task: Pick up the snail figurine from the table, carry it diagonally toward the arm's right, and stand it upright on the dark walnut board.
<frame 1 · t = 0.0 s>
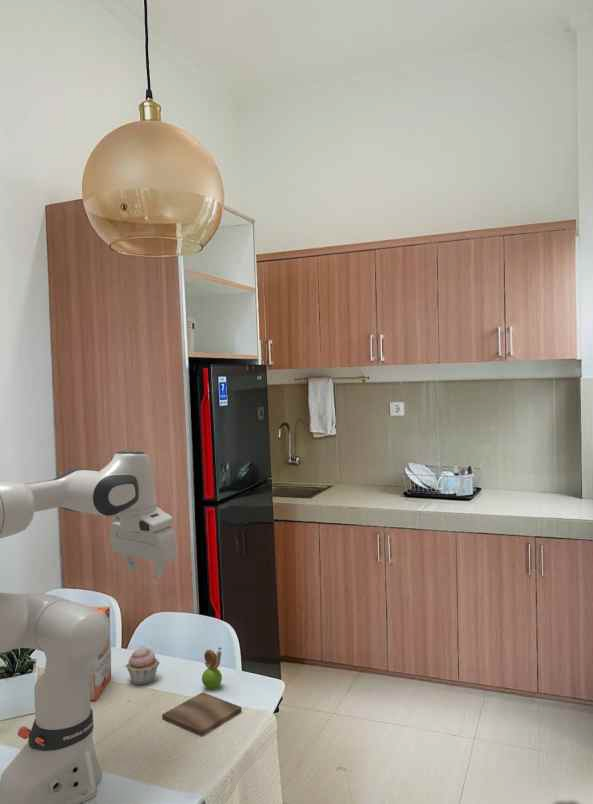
hand: (145, 573, 157), 39 cm above the table, tool pointing down, fingers open, 8 cm apart
cracker box: (95, 689, 182), on the table
cupcake: (143, 681, 186), on the table
walnut board: (202, 715, 166), on the table
snail figurine: (213, 688, 180), on the table
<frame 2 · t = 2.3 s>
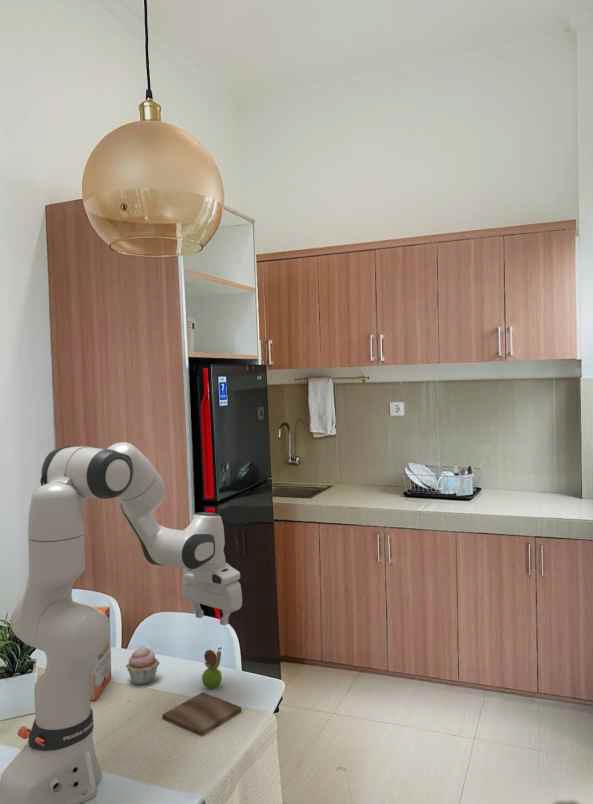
hand: (211, 620, 180), 19 cm above the table, tool pointing down, fingers open, 8 cm apart
nothing on the table moved.
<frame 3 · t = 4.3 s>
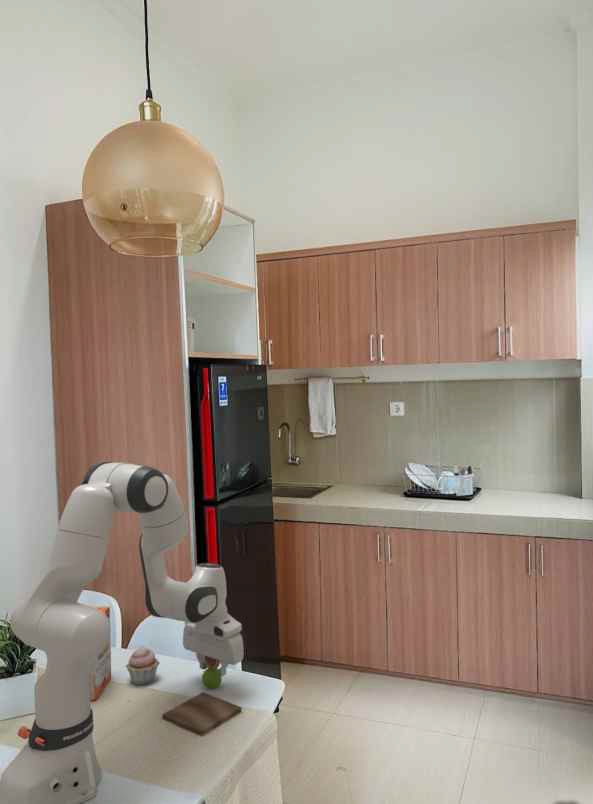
hand: (212, 671, 180), 5 cm above the table, tool pointing down, fingers closed on snail figurine, 6 cm apart
snail figurine: (213, 688, 180), on the table, touching gripper
everything else where it was.
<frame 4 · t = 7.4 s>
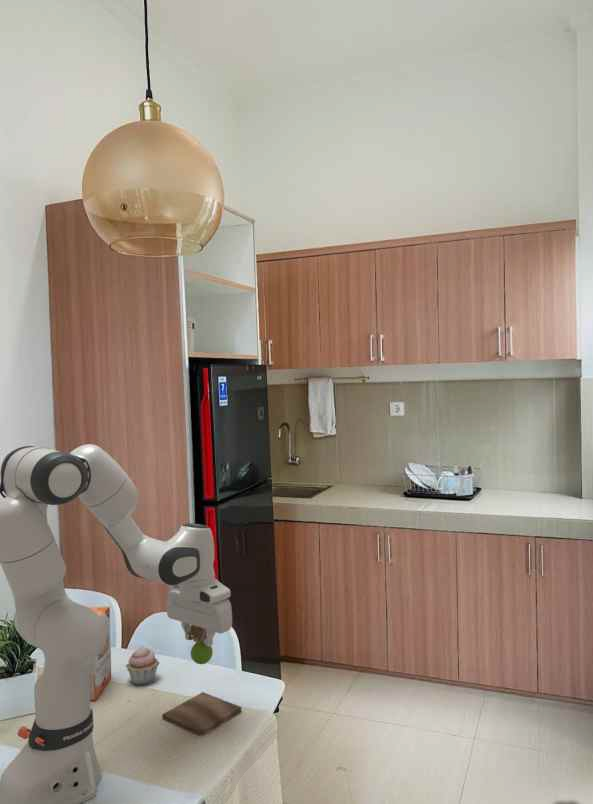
hand: (198, 642, 165), 19 cm above the table, tool pointing down, fingers closed on snail figurine, 5 cm apart
snail figurine: (205, 664, 164), point 13 cm above the table, touching gripper
everything else where it was.
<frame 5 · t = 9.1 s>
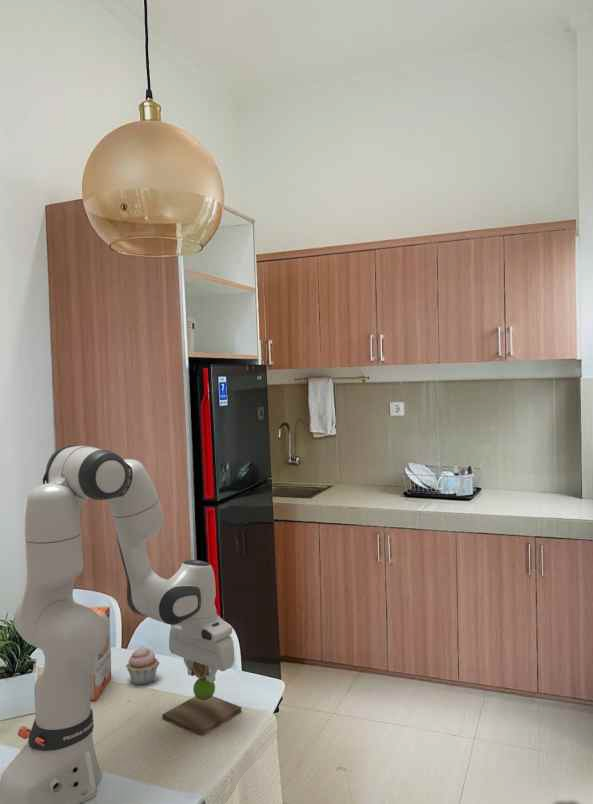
hand: (201, 678, 166), 10 cm above the table, tool pointing down, fingers closed on snail figurine, 5 cm apart
snail figurine: (207, 700, 165), point 4 cm above the table, touching gripper
everything else where it was.
when the fingers open (7 cm above the table, at t = 10.5 s): snail figurine stays where it is, resting on walnut board.
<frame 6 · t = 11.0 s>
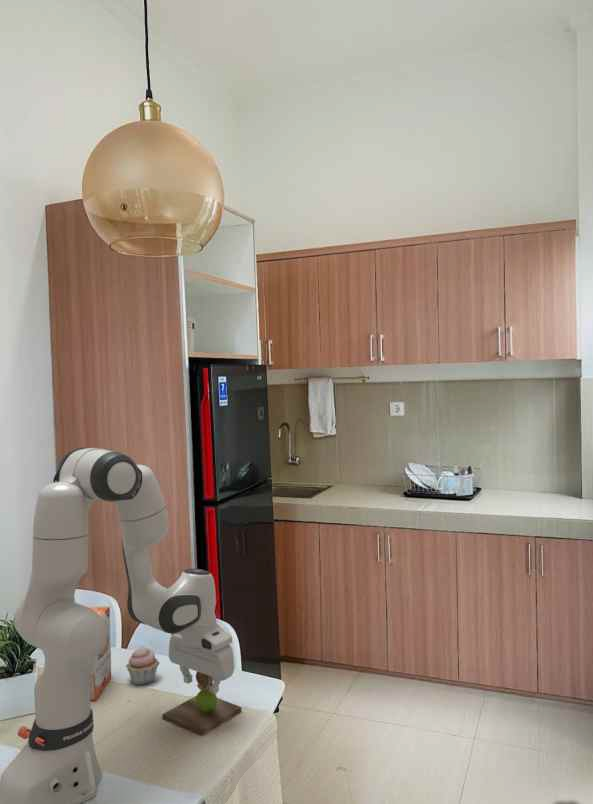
hand: (201, 687, 166), 7 cm above the table, tool pointing down, fingers open, 8 cm apart
snail figurine: (209, 712, 164), point 1 cm above the table, touching gripper, walnut board
everything else where it was.
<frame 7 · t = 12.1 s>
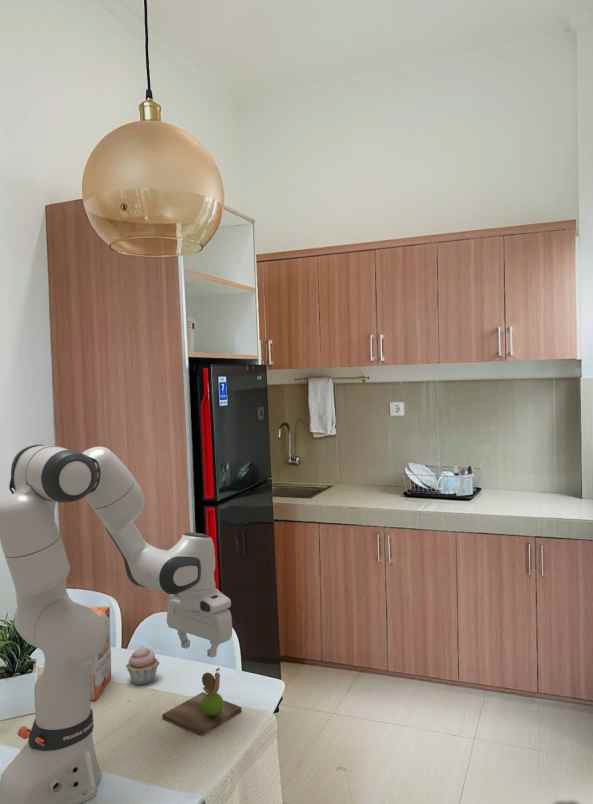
hand: (198, 651, 165), 16 cm above the table, tool pointing down, fingers open, 8 cm apart
snail figurine: (215, 716, 163), point 1 cm above the table, touching walnut board
everything else where it was.
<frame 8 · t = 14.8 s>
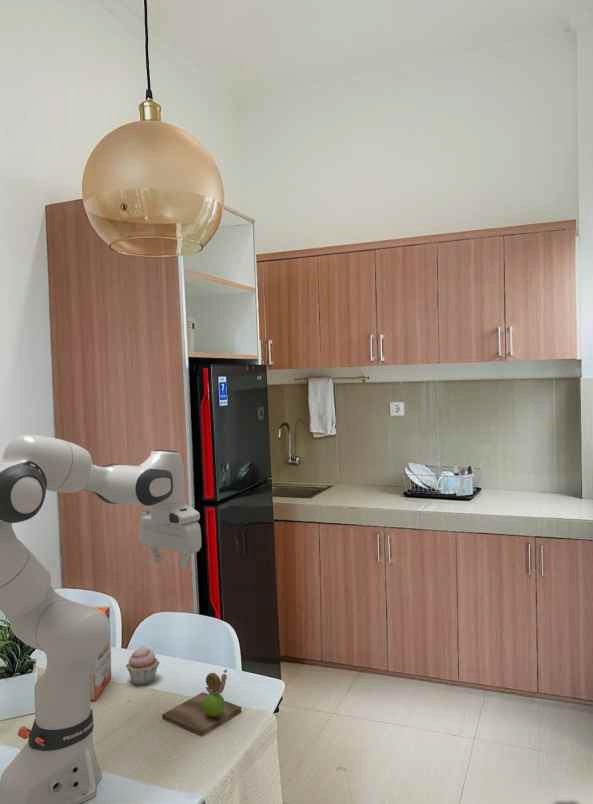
hand: (170, 565, 169), 37 cm above the table, tool pointing down, fingers open, 8 cm apart
at the end: snail figurine inside the target area on the walnut board (4.8 cm from its centre), point 1.1 cm above the walnut board's base; snail figurine tilted 2°; the gripper is holding nothing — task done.
